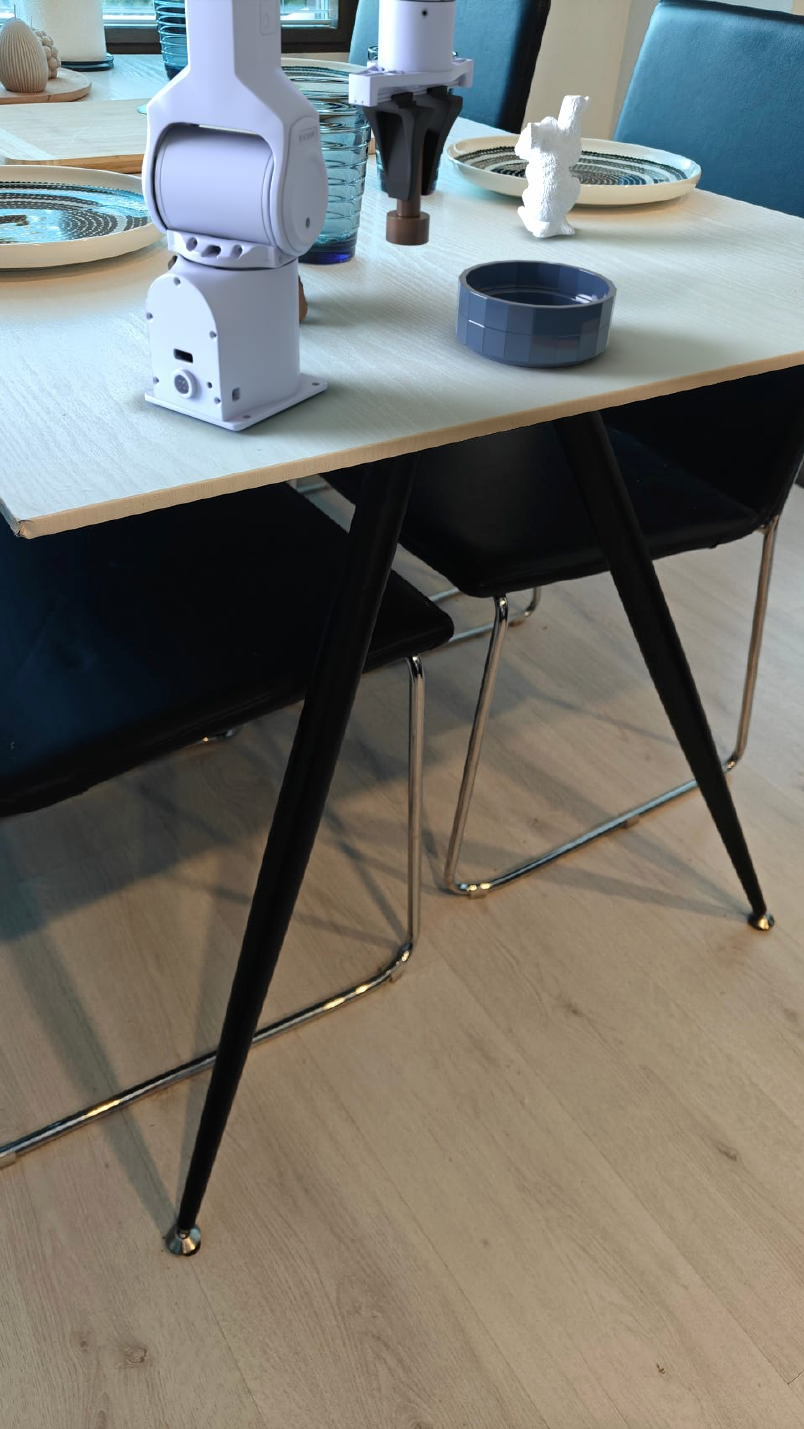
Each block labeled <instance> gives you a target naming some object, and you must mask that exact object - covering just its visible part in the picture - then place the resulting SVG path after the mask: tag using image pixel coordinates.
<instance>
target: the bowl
mask: <svg viewBox="0 0 804 1429" xmlns="http://www.w3.org/2000/svg"><path fill="white" fill-rule="evenodd" d="M617 291H618V288H617V287H616V285H615V284H614V282H613V281H612V280H611V279H609V278H607V277H606V276H604V275H603V274H601V273H598V272H595V271H593V270H590V269H587V268H584V267H582V266H581V267H580V266H576V265H571V264H567V263H562V262H555V261H546V260H533V259H507V260H505V259H504V260H493V261H489V262H484V263H478V264H475V265H472V266H470V267H467V268H465V269H464V270H463V271H462V272H461V273H460V275H458V280H457V293H456V294H457V295H456V308H455V322H454V323H455V324H454V331H455V336H456V339H457V340H458V341H460V342H461V344H463V345H464V346H466V347H467V348H469V350H471V351H472V352H474V353H475V354H477V355H479V356H481V357H483V358H485V359H487V360H491V361H494V362H497V363H502V364H506V365H510V366H518V367H526V368H541V369H543V368H544V369H545V368H562V367H569V366H574V365H577V364H581V363H584V362H587V361H588V360H590V359H591V358H595V357H597V356H598V355H600V354H602V353H603V352H605V351H606V349H607V347H608V345H609V342H610V337H611V336H610V335H611V330H612V324H613V323H612V322H613V317H614V311H615V305H616V299H617Z"/></svg>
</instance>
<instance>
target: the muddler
mask: <svg viewBox="0 0 804 1429" xmlns="http://www.w3.org/2000/svg"><path fill="white" fill-rule="evenodd" d="M423 152H424V141H423V145H422V150H421V155H420V161H419V170H418V179H417V186H416V191H415V194H414V198H413V200H411V201H404V200H400V199H396V209H393V210H389V211H388V212H386V216H385V217H386V218H385V219H386V220H385V221H386V222H385V240H386V241H387V242H388V243H390V244H393V245H397V246H404V247H415V246H416V247H417V246H423V245H426V244H428V243H429V240H430V223H431V215H430V214H429V213H428V212H425V211H423V210H422V195H421V192H422V172H423Z"/></svg>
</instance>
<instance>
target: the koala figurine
mask: <svg viewBox="0 0 804 1429" xmlns="http://www.w3.org/2000/svg"><path fill="white" fill-rule="evenodd" d="M592 101H593V98H591V97H589V96H586V97H585V96H584V95H580V94H579V95H573V94H568V95H565V96H564V98H563V100H562V104H561V107H560V112H559V114H558V120H557V119H556V117H554V116H545V118H544V119H542V120H541V121H540V122H532V121H531V122H528V123H527V127H525V128H524V129H523V130H522V131H521V134H520V136H519V138H518V142H517V143H516V145H515V147H514V152H515V155H516V157H519V158H520V159H522V160H524V161H527V162H529V163H528V164H527V165H526V168H525V177H526V179H527V182H528V187H527V188H525V190H524V191H523V192H522V202H523V205H521V206H519V207H518V209H517V214H518V215H519V216H520V218H521V220H522V221H523V223H524V225H525V228H526V229H527V230H528V231H529V232H532V234H533V236H535V237H536V238H539V239H543V238H544V239H545V238H550V237H553V236H558V235H559V236H561V235H562V236H564V235H565V236H570V235H575V233H576V230H575V229H574V227H573V226H572V225H571V224H570V223H569V221H568V219H567V217H566V215H568V213H569V212H570V211H571V210H572V208H574V206H575V204H576V202H577V201H578V200H579V196H580V194H581V189H582V188H581V186H582V185H581V181H580V178H579V177H578V176H573V175H572V173H571V170H570V168H571V167H575V165H576V164H577V163H578V162H579V160H580V158H581V156H582V152H583V147H582V146H583V145H582V127H581V125H582V121H583V116H584V115H585V112H586V111H587V110H588V109H589V108H590V106H591V104H592Z"/></svg>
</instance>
